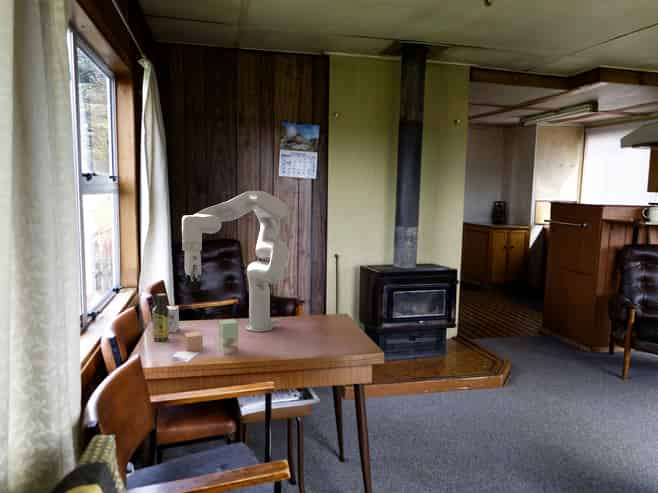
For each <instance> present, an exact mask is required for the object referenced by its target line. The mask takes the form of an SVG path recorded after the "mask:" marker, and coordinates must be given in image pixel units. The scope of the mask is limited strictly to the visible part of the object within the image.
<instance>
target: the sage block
mask: <svg viewBox="0 0 658 493" xmlns="http://www.w3.org/2000/svg"><path fill="white" fill-rule="evenodd" d="M218 327H219V328H218V329H219V330H218V332H219V334H218V336H219V335H220V336H221V337H222V338H223V339H229V338H238V339H239V322H238V321H237V320H235V319H234V318H231V319H223V320H219V321H218Z"/></svg>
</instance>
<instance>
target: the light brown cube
mask: <svg viewBox="0 0 658 493" xmlns="http://www.w3.org/2000/svg"><path fill="white" fill-rule="evenodd" d="M183 335H184V348H185V350H186V351H187V352H193V351H195V352H196V351H202V350H204V348H203V347H204V346H203V344H204V343H203V339H204V338H203V336H204V335H203V334H202V333H201V332H200V331H191V332H184V333H183Z"/></svg>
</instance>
